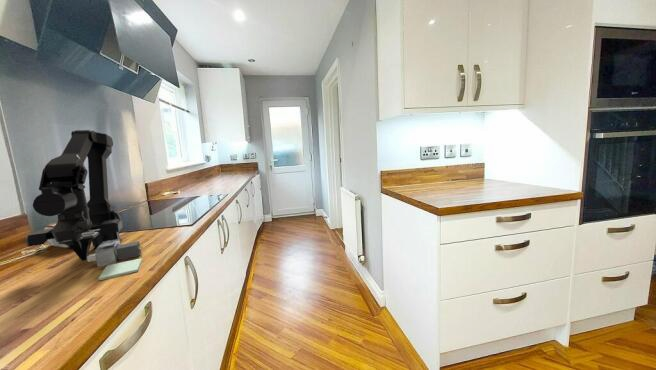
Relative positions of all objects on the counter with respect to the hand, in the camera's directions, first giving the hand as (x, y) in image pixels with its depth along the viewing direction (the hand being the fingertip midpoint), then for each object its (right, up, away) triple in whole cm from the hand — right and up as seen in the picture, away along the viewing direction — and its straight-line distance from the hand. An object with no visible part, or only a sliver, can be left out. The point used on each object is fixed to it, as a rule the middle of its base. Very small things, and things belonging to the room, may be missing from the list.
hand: (84, 260), depth 73 cm
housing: (+5, -1, +3) cm, 6 cm away
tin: (-23, 0, +16) cm, 28 cm away
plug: (+7, -1, +4) cm, 7 cm away
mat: (+14, -1, -4) cm, 14 cm away
